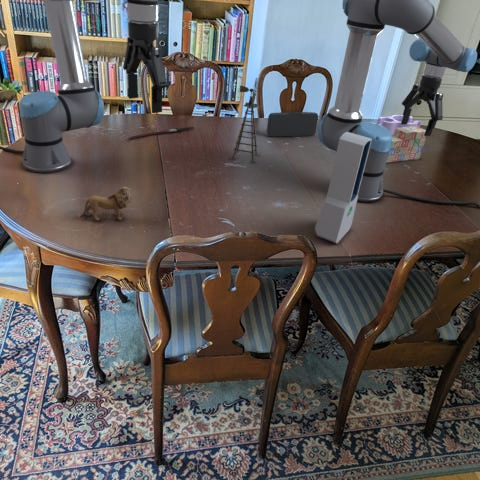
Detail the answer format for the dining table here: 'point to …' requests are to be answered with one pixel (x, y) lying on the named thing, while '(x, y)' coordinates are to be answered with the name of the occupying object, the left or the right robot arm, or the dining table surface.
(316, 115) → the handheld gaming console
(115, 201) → the lion figurine
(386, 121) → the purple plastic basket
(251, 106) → the miniature windmill
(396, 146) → the stack of blocks
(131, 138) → the sword
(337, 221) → the electronic device
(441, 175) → the dining table surface
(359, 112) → the right robot arm
